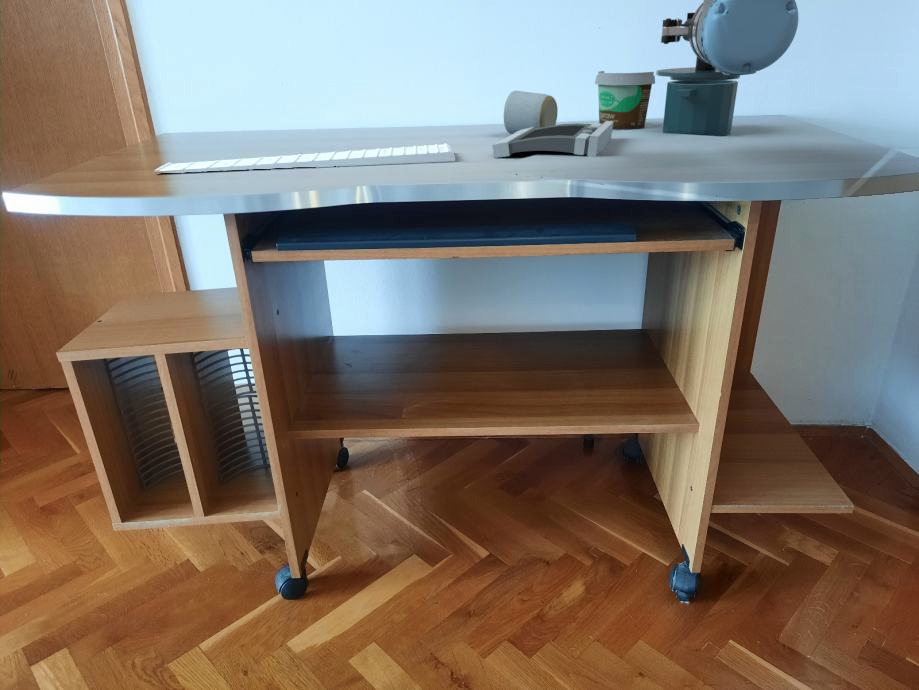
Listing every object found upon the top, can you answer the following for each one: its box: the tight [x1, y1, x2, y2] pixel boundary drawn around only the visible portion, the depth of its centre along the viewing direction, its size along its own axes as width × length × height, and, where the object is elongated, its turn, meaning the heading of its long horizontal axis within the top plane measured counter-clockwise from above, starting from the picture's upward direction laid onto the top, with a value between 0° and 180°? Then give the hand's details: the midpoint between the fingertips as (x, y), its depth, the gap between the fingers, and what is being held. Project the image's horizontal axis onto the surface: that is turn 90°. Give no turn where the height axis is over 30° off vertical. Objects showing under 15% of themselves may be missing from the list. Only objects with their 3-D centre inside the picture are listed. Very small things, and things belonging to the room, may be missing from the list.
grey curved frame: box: [491, 121, 613, 159], centre depth 103 cm, size 17×5×16 cm
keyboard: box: [154, 142, 456, 173], centre depth 99 cm, size 45×8×2 cm, turn 95°
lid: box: [655, 56, 757, 81], centre depth 84 cm, size 13×13×9 cm
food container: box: [594, 70, 656, 130], centre depth 123 cm, size 12×6×10 cm, turn 42°
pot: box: [662, 79, 739, 137], centre depth 114 cm, size 12×17×8 cm
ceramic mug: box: [503, 90, 558, 135], centre depth 119 cm, size 11×8×8 cm
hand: (705, 28), depth 88 cm, fingers closed on lid, 3 cm apart
